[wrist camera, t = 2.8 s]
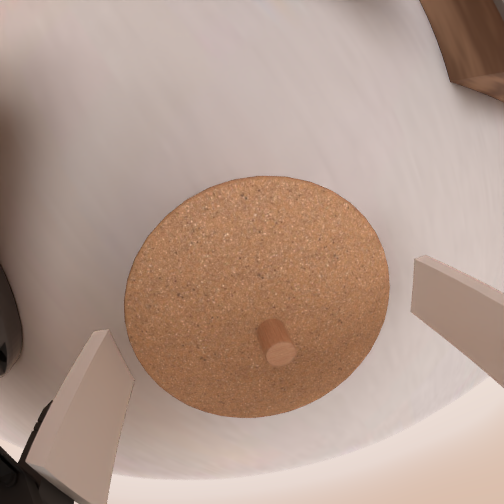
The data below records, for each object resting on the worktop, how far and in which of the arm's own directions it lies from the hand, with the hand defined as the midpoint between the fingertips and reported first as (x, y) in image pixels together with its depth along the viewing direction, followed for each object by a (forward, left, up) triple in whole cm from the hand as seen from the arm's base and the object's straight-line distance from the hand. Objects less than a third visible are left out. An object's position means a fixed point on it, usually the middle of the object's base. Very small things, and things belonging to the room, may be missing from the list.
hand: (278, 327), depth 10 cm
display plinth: (+28, +19, -7) cm, 34 cm away
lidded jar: (0, 0, -8) cm, 8 cm away
